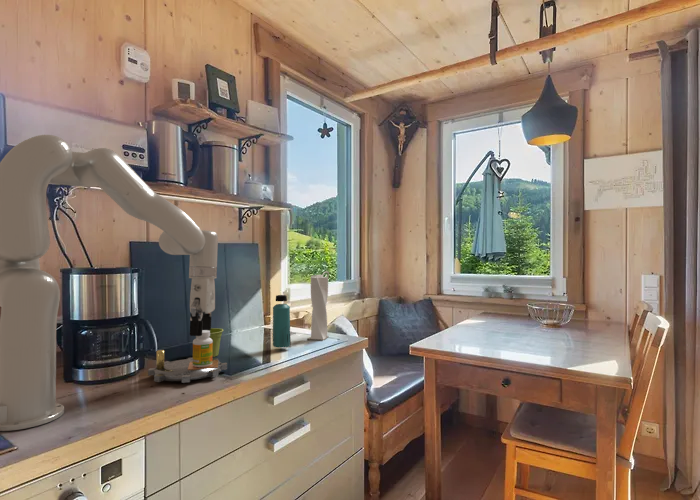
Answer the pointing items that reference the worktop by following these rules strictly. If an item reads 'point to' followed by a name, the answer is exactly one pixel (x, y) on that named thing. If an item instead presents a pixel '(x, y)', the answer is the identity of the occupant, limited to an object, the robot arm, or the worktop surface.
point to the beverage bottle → (281, 323)
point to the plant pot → (215, 340)
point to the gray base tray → (183, 369)
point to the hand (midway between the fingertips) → (200, 332)
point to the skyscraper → (319, 307)
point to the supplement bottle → (202, 350)
